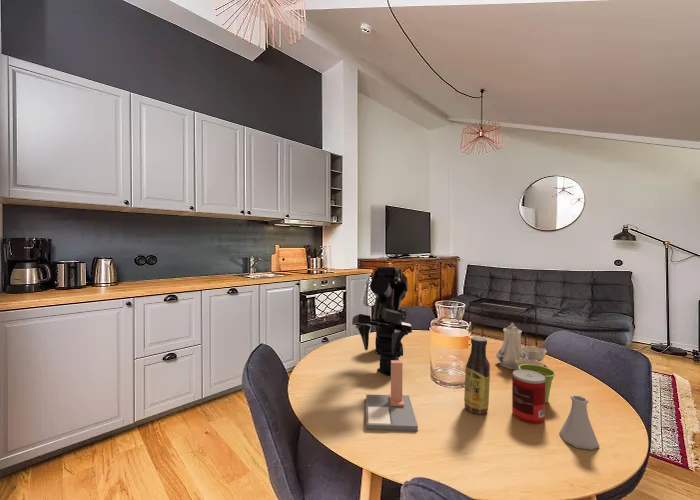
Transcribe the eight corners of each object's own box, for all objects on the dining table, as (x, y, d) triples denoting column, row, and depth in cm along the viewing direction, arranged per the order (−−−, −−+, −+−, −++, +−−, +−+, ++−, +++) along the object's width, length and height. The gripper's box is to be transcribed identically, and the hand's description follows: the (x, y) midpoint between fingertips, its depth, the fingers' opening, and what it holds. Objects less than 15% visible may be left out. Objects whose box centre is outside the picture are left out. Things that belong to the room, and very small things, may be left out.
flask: (552, 432, 78) (553, 391, 77) (581, 431, 78) (581, 390, 78) (575, 451, 70) (576, 406, 70) (606, 450, 71) (607, 405, 71)
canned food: (541, 411, 88) (541, 371, 87) (548, 426, 80) (549, 383, 80) (510, 406, 90) (510, 367, 90) (514, 421, 82) (514, 378, 82)
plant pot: (524, 388, 101) (524, 361, 101) (558, 399, 95) (559, 369, 94) (513, 398, 95) (513, 369, 95) (550, 410, 88) (550, 378, 88)
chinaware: (546, 391, 103) (553, 341, 102) (490, 375, 112) (496, 328, 111) (544, 363, 128) (549, 322, 127) (498, 352, 136) (503, 313, 135)
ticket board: (417, 430, 78) (417, 424, 78) (366, 429, 79) (366, 422, 78) (408, 399, 94) (408, 394, 94) (366, 398, 94) (366, 393, 94)
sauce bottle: (459, 406, 90) (459, 336, 90) (476, 402, 92) (476, 333, 92) (477, 418, 84) (477, 342, 84) (494, 413, 86) (495, 339, 86)
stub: (404, 406, 87) (404, 365, 87) (390, 406, 87) (391, 365, 87) (401, 396, 93) (401, 358, 93) (389, 395, 93) (389, 357, 93)
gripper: (367, 292, 95) (362, 346, 89) (422, 304, 100) (420, 356, 94) (354, 299, 105) (348, 348, 99) (404, 309, 110) (401, 357, 104)
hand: (379, 352), depth 99 cm, fingers open, 9 cm apart
